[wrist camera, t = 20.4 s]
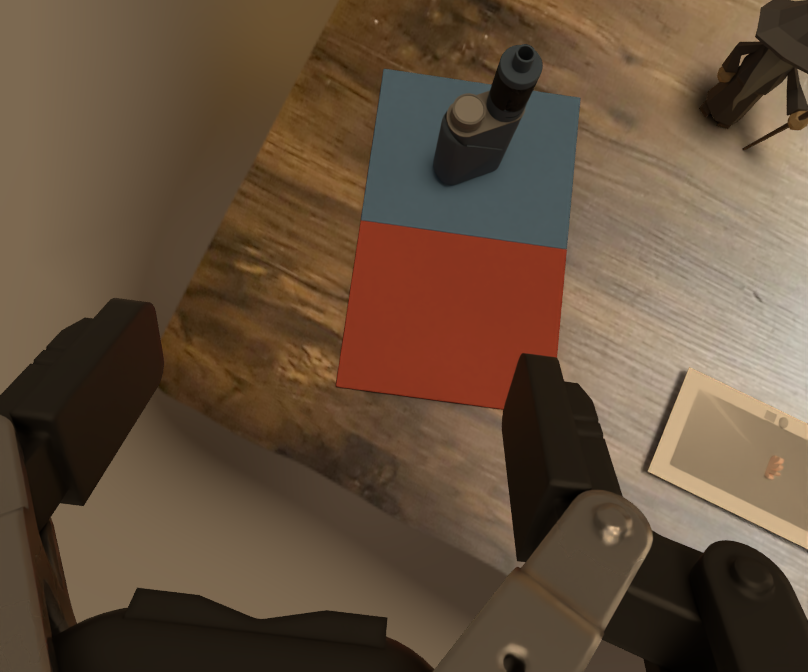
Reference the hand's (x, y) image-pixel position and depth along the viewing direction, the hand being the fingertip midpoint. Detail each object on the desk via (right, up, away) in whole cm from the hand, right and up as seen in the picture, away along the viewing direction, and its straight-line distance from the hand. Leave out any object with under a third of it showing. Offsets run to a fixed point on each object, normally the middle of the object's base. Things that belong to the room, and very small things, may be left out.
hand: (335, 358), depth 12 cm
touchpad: (+26, -9, +27) cm, 39 cm away
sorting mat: (+6, +8, +28) cm, 30 cm away
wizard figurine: (+27, +17, +31) cm, 44 cm away
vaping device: (+6, +13, +29) cm, 32 cm away
